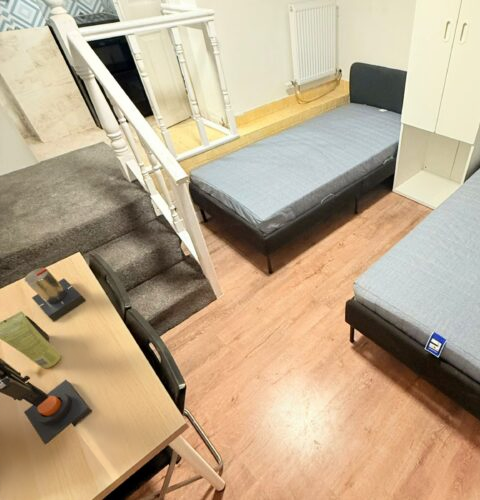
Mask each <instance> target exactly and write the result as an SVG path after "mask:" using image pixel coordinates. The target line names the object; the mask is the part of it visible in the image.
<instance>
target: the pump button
mask: <svg viewBox="0 0 480 500" xmlns="http://www.w3.org/2000/svg"><path fill="white" fill-rule="evenodd" d="M48 397H49V398H47V399H46V400H45V401H44V402H42V403H41V404H40V405H39V406H38V408H37V409H38V412H40V413H41V414H43V415H45V416H50V415H53V414H54V413H55V412H57V411H58V410H59V408H60V407H61V400H60V399H58V398H57V397H55V396H48Z"/></svg>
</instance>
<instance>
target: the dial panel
mask: <svg viewBox="0 0 480 500" xmlns="http://www.w3.org/2000/svg"><path fill="white" fill-rule="evenodd" d="M58 282H59V283H60V284H61V285H62V286H63V287H64V289H65V290H66V291H67V294H66V296H65V297H64V298H63V299H62V300H60V301H59V302H56V303H53V304H48V303H46V302H45V301H44V300H43V299H42V298H41V297H40V296H39V295H38V294H37V293H36V294H35V295H34V296H32V297H31V299H32V300H33V301H34V302H35V304H36V305H37V306H38V308H40V309H41V310H42V312H43V313H44V314H45V315H46V316H47V317H48V318H49V320H51V321H52V322H56V321H57V320H59V319H60V318H62V317H63V316H65V315H66V314H68V313H69V312H71V311H73V310H74V309H75V308H77V307H78V306H80V305H81V304H83V303H84V302H86V298H84V296H83V295H82V294H81V293H80V292H79V291H78V290H77V289H76V288H75V287H74V286H73V285H72V284H71V283H70V282H68V281H67V279H65V278H61V279H60V280H58Z"/></svg>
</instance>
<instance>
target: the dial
mask: <svg viewBox="0 0 480 500" xmlns="http://www.w3.org/2000/svg"><path fill="white" fill-rule="evenodd" d="M24 282H25V283H26V284H27V285H28V286H29V287H30V288H31V289H32V290H33V291H34V292H35V293H36V295H37V294H38V295H39V296H40V297H41V298H42V299H43V300H44V301H45V302H46V303H48V304H53V303H56V302H59V301H60V300H62V299H63V298H64V297H65V296H66V294H67V291H66V290H65V289H64V287H63V286H62V285H61V284H60V283H59V280H57V278H56V277H55V276H54V275H53V274H52V273H51V272H50V271H49V270H48V269H47V267H39V268H36V269H33V270H32V271H29V273H28V274H27V275H26V276H25V277H24Z"/></svg>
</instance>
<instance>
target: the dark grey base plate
mask: <svg viewBox="0 0 480 500" xmlns="http://www.w3.org/2000/svg"><path fill="white" fill-rule="evenodd" d="M46 394H47V395H48V396H55V397H57V398H58V399H60V400H61V407H60V408H59V410H58V411H57V412H55V413H54V414H53V415H50V416H45V415H43V414H41V413H40V412H38V409H37V408H38V406H37V407H36V406H34V405H32V404H31V406H29V407H28V408H27V409H26V410H24V411H23V413H24V414H25V416H26V417H27V419H28V420H29V422H30V424H31V425H32V427H33V428H34V430H35V431H36V433H37V434H38V436H39V438H40V439H41V440H42V442H43V444H44V445H47V444H48V443H50V442H51V441H52V440H53V439H54V438H55V437H57V436H58V434H60V433H61V432H62V431H64V430H65V429H66V428H67V427H68V426H69V425H72V426H73V427H75V426H76V425H78V424H79V423H80V422H81V421H82V420H84V419H85V418H86V417H87V416H88V415H90V414H91V412H93V410H92V409H91V408H90V406H89V405H88V403H87V402H86V401H85V400H84V399H83V397H82V395H80V393H79V392H78V391H77V390H76V388H75V387H74V386H73V384H71V382H70V381H68V380H67V379H65V380H64V381H62V382H60V384H58V385H57V386H56V387H54V388H53V389H51V390H50V391H48V393H46Z"/></svg>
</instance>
